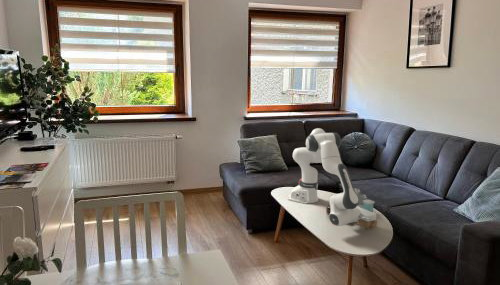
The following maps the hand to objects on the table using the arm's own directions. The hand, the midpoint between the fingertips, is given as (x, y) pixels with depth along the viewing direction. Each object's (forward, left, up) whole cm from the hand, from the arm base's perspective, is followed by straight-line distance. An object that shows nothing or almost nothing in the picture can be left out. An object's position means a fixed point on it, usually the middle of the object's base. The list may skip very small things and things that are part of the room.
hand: (368, 209), depth 224 cm
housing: (0, -1, -6) cm, 6 cm away
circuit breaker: (-8, +20, -11) cm, 25 cm away
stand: (0, -1, -10) cm, 10 cm away
